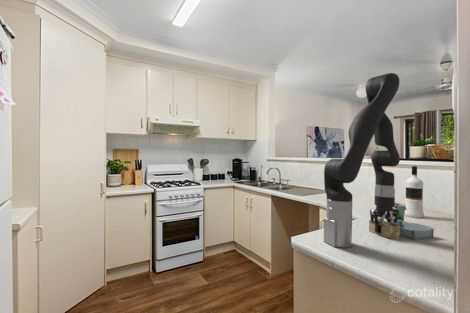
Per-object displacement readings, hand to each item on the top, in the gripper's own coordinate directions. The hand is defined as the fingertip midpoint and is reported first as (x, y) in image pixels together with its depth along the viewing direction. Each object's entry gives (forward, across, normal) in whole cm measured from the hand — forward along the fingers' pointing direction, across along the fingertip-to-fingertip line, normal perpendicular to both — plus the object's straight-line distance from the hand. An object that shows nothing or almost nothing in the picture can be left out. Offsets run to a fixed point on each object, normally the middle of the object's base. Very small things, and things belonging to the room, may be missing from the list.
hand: (383, 232), depth 100 cm
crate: (+1, +12, -1) cm, 12 cm away
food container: (+1, +24, +12) cm, 27 cm away
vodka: (+1, +48, +21) cm, 52 cm away
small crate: (+1, 0, 0) cm, 1 cm away
